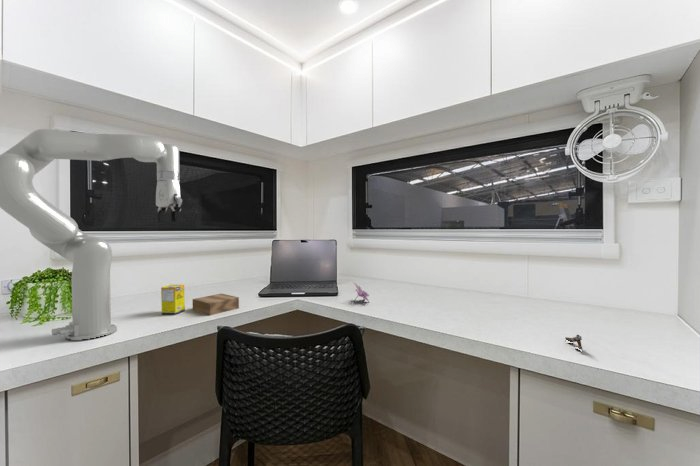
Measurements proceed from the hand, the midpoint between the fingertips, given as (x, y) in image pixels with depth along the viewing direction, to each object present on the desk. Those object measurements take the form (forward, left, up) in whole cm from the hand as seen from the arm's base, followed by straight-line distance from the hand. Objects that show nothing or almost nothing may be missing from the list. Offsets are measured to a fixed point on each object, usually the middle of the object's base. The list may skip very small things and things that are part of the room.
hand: (169, 222), depth 119 cm
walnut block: (+16, -5, -37) cm, 41 cm away
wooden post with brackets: (+54, -128, -37) cm, 144 cm away
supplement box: (+3, +4, -37) cm, 37 cm away
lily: (+62, -48, -37) cm, 87 cm away
